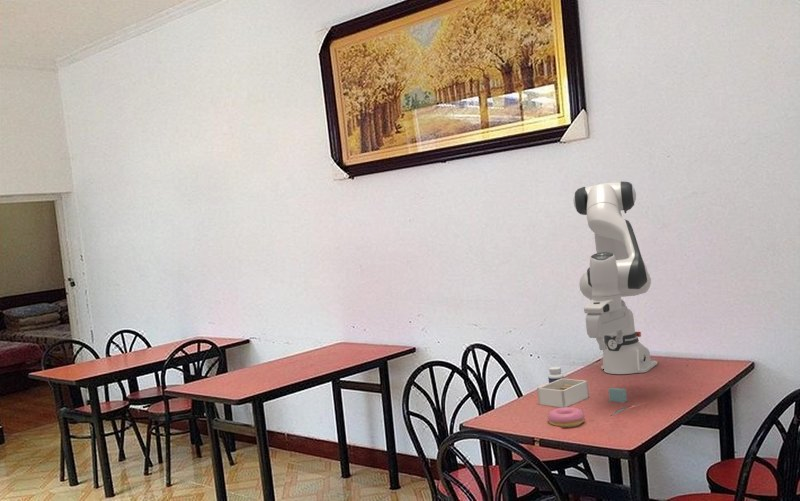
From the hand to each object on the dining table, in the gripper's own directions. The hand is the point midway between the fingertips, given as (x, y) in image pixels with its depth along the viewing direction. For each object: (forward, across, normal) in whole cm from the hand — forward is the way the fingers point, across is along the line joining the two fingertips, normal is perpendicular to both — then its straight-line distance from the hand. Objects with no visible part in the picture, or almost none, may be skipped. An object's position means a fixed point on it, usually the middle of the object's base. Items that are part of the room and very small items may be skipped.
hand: (611, 346), depth 226 cm
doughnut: (+18, +25, -2) cm, 31 cm away
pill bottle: (+19, -3, -25) cm, 31 cm away
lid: (+19, +6, 0) cm, 20 cm away
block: (+18, +3, -16) cm, 24 cm away
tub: (+18, +6, -16) cm, 25 cm away
